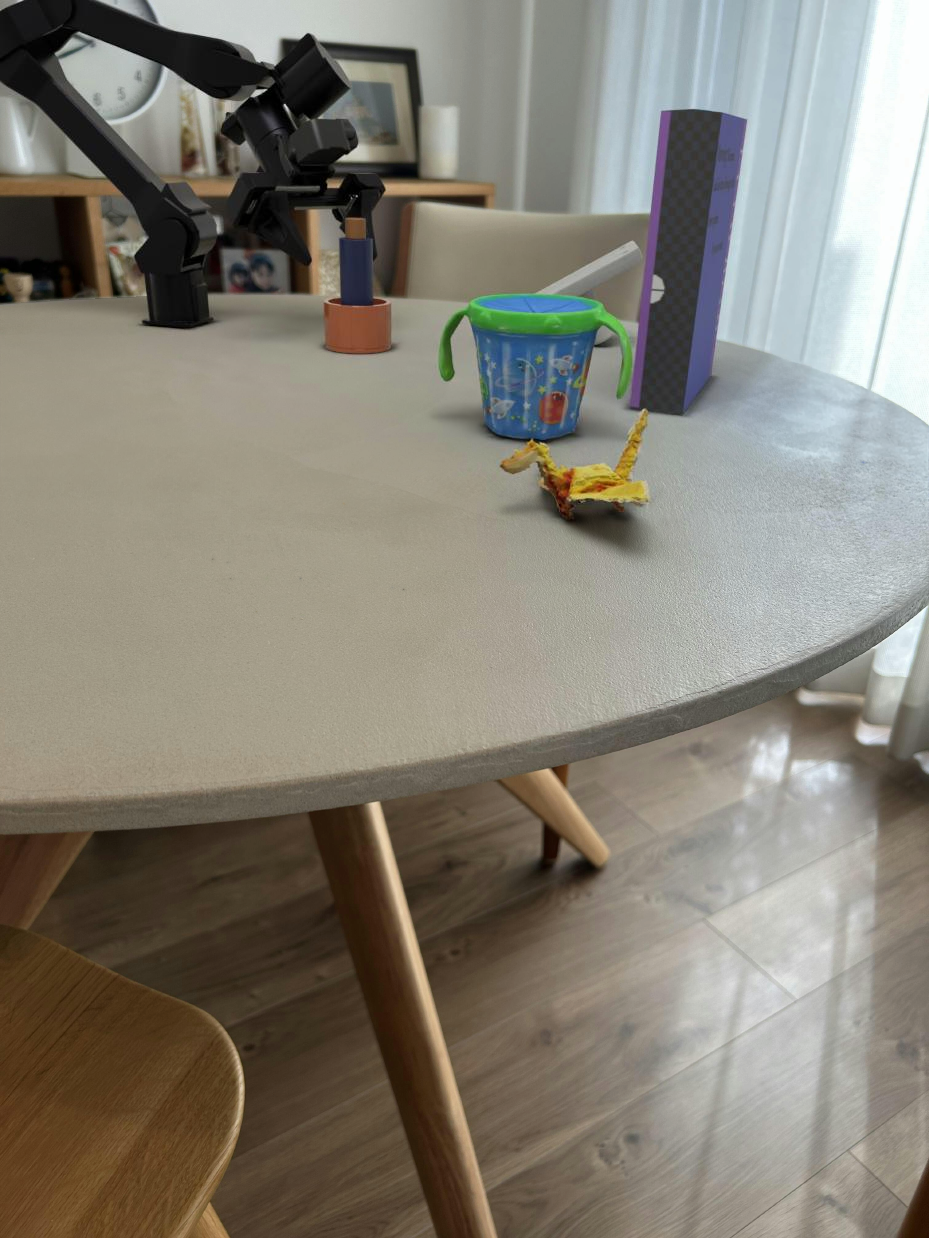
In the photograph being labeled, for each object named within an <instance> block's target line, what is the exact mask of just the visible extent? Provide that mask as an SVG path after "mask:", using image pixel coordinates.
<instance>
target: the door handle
mask: <svg viewBox="0 0 929 1238" xmlns="http://www.w3.org/2000/svg"><path fill="white" fill-rule="evenodd" d="M643 257H644V256H643V254H642V252H641V249H640V247H639V246H638V245H637V243H636V242H635V241H634V240H630V241H628V242H627V243H624V244H623V245H621V246H619V247H618V248H615V249H614V250H612V251H609V253H606V254H605V255H603V256H601V257H599V258H597V259H596V260H594V261H592V262H590V263H588V264H586V265H584V266H583V267H581V268H579V269H577V270H575V271H574V272H572V273H570V274H568V275H566V276H564V277H562V278H561V279H559V280H557V281H555V282H553V283H552V284H550V285H548V286H546V287H544V288H542V289H541V290H539V291H537V292H535V293H534V294H554V295H566V296H575V297H582V298H587V299H592V300H595V301H598V299H597V296H596V295H595V292H594V289H595V288H596V287H599V286H600V285H602V284H604V283H606V282H608V281H610V280H612V279H613V278H616V277H617V276H619V275H621V274H623V273H625V272H626V271H628V270H631V269H632V268H634V267H636V266H638V265H639V264H641V263H644V258H643ZM615 334H616V333H614V332H613V331H611V330H610V329H608V328H607V327H606V326H601V327H600V328H599V329H598V331H597V335H596V340H595V343H594V346H597V345H601V344H603V343H605V342H607V341H608V340H610V339H611V338H612V337H613V336H614V335H615Z"/></svg>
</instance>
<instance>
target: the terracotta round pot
mask: <svg viewBox="0 0 929 1238" xmlns="http://www.w3.org/2000/svg"><path fill="white" fill-rule="evenodd" d="M323 317H324V344H325V348H326V349H327V350H328V351H330V352H331V351H332V352H336V353H342V354H354V355H356V354H357V355H358V354H359V355H361V354H362V355H363V354H364V355H365V354H367V355H368V354H376V353H377V354H378V353H383V352H388V351H390V350H391V349H392V301H391V300H389V299H386V298H381V297H376V296H375V297H374V296H373V305H372V306H349V305H341V296H336V297H329V298H325V299H323Z"/></svg>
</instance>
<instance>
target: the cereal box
mask: <svg viewBox="0 0 929 1238" xmlns="http://www.w3.org/2000/svg"><path fill="white" fill-rule="evenodd" d="M747 123H748V118H744V117H740V116H737V115H733V114H730V113H727V112H722V111H713V110H709V109H701V108H685V109H668V110H667V109H666V110H661V111H660V117H659V127H658V136H657V137H658V138H657V147H656V154H655V155H656V156H655V165H654V166H655V167H654V176H653V184H652V194H651V204H650V212H649V213H650V214H649V221H648V231H647V239H646V240H647V241H646V250H645V251H646V252H645V260H644V270H643V279H642V280H643V281H642V288H641V289H642V290H641V298H640V307H639V317H638V325H637V335H636V336H637V337H636V346H635V354H634V355H635V356H634V364H633V373H632V383H631V391H630V392H631V393H630V402H629V410H634V411H642V410H643V409H647V411H648V412H653V413H660V414H669V415H678V416H684V414H685V413H686V411H687V410H688V409H689V408H690V406H691V404H692V403H693V402H694V401H695V400H696V398H697V397H698V395H699V394H700V393H701V391H702V390H703V388H704V387H705V386H706V384H707V383H708V382H709V380H710V379H711V378H712V371H713V367H714V366H713V364H714V359H715V352H716V351H715V350H716V344H717V338H718V337H717V336H718V329H719V322H720V315H721V309H722V308H721V307H722V302H723V295H724V286H725V280H726V275H727V274H726V272H727V266H728V259H729V252H730V245H731V239H732V232H733V225H734V224H733V223H734V217H735V209H736V203H737V195H738V189H739V182H740V173H741V168H742V167H741V166H742V161H743V153H744V152H743V151H744V145H745V140H746V132H747Z"/></svg>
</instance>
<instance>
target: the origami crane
mask: <svg viewBox="0 0 929 1238" xmlns="http://www.w3.org/2000/svg"><path fill="white" fill-rule="evenodd" d="M648 415H649V411H647V409H643V410H640V411H639V413H638V414H636V417H635V421H634V424H633V425H632V426H631V427H630V429H629V430H628V432H627V434H626V435H627V440H625V444H626V446H625V447H624V448H623V450H622V453H621V454H622V455H621V456H620V458H619V461H618V463H617V465H616V466H615V468H614V470H613V469H612V467H610V466H608V465H607V464H606V463H605V462H601V463H597V464H589V465H584V466H577V467H571V468H570V469H568V468H567V465H564V464H559V465H560V468H558V467H557V465H556V464H555V462H554V460H553V459H551V457H552V455H551V454H549V450H550V449H551V448H550V447H549V446H548V445H547V444H546V443H544V442H541V441H539V444H538V443H536V441H534V439H533V438H532V439H530V441H526V444H525V446H526V447H525V448H522V449H520V448H521V447H520V446H519V447H518V448H519V449H520V450H519V449H518V448H515V449H514V454H513V455H512V456H511V457H510V458H504V460H502V461H501V463H500V464H499V468H501V469H502V470H503V471H504V472H506V473H509V474H511V475H515V474H519V473H522V472H523V471H526V470H527V469H531V464H537V468H538V472H539V473H540V477H541V478H540V479H539V482H538V485H539V486H540V487H541V488H542V489H545V491H548V492H550V493H551V494H552V496H553V497H554V498H555V502H556V506H557V507H558V509H559V511H558V514H559V515H561V517H563V518H564V519H565V520H567V521H569V520H575V516H574V515H573V514H572V512H571V510H572V509H574V508H577V507H578V505H585V504H584V503H585V502H586V500H585V499H591V500H592V499H593V500H594V501H606V502H608V503H611V504H613V505H614V506H613V507H614V510H616V512H618V513H619V512H621V513H624V511H625V505H621V503H622V504H625V503H629V502H631V504H632V505H633V506H635V507H641V508H642V507H644V506H646V505H650V492H649V491H650V490H649V484H648V481H647V480H638V481H633V478H634V471H635V468H636V463H637V462H638V460H639V457H640V456H639V455H640V453H641V450H642V446H643V442H644V440H643V437H642V433H643V432H644V430H645V429H646V428H648ZM617 454H618V453H616V455H617ZM574 501H577V504H578V505H575V504H574V503H571V502H574ZM641 502H643V503H641Z"/></svg>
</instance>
